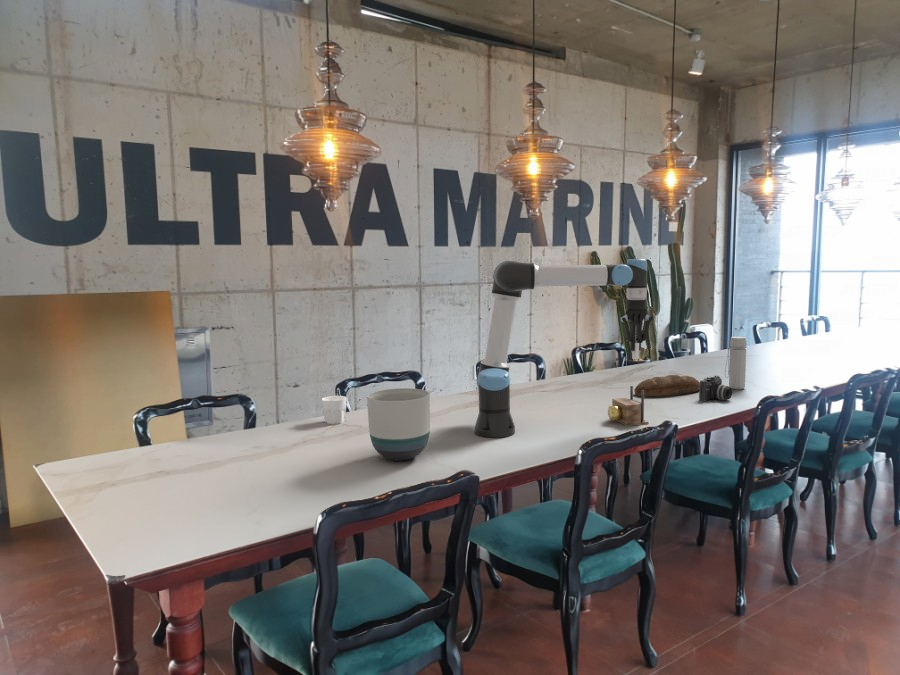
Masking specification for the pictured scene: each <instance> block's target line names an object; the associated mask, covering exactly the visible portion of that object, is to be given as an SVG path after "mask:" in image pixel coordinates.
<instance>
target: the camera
mask: <svg viewBox="0 0 900 675" xmlns="http://www.w3.org/2000/svg"><path fill="white" fill-rule="evenodd" d="M722 380H723V379H722V378H721V377H720V376H719V375H714V376H707V377H704V379H702V380H700V381H699V382H700V387H699V390H698V392H699V393H698V400H699V401H700V402H701V401H702V402H707V401H710V400H714V399H716V400H720V401H728V400H730V399H731V398H732V395H733V389H731V388H730V387H729V385H725V384H723V383H722V382H723V381H722Z"/></svg>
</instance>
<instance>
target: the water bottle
mask: <svg viewBox="0 0 900 675" xmlns="http://www.w3.org/2000/svg"><path fill="white" fill-rule="evenodd" d="M746 339H747V337H745V336H731V337H730V341H729V346H728V347H727V355H726V359H727V361H726V363H725V366H727V363H728V374H727V375H728V376H726V373H724V376H725V378H726V379H728V386H729V387H730V388H731V389H732V390H744V389H745V387H746V370H747V369H746V367H747V366H746V365H747V364H746V363H747V340H746ZM726 370H727V367H725V369H724V372H727V371H726Z"/></svg>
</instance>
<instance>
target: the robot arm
mask: <svg viewBox="0 0 900 675" xmlns="http://www.w3.org/2000/svg"><path fill="white" fill-rule="evenodd" d="M492 277H493V278H492V279H493V281H492V287H491V295H492V296H493V298H494V300H493V305H492V313H491V318H490V319H491V320H490V325H489V332H488V339H487V343H486V350H485V357H484V358H483V359H481V361H480V365H479V370H478V373H477V375H476V376H477V377H476V385H477V390H478V415H477V418H476V422H475V425H474V434H476V435H477V436H480V437H483V438H495V439H497V438H504V437H505V438H506V437H509V436H512V435H514V434H515V433H516V427H515V422H514V419H513V417H512V414H511V399H510V398H511V396H510V395H511V394H510V392H511V391H510V390H511V388H510V386H511V383H510V382H511V378H510V374H509V372H510V368H511V367H510V366H511V365H509V363H508V362H507V361H508V355H509V349H510V342H511V335H512V330H513V325H514V324H513V323H514V318H515V312H516V306H517V302H518V301H519V300H520V299H521V298H522V292H523V291H525V290H527V291H528V290H529V291H530V290H536V288H538V287H583V286H584V287H585V286H586V287H587V286H593V287H594V286H618V287H620V286H621V287H623V286H626V300H625V301H626V306H625V307H626V308H625V309H626V311H625V314H624V315H623V316H620V317H619V320H620V322H621V326H622V328H623V333H624V339H625V341H626V342H629V343H630V344H629V346H630V347H629V349H630V351H631V359H632V360H635V361H636V360H637V361H638V360H640V351H641V350H642V344H643V342H646V340H647V338H648V333H649V329H650V328H649V327H650V323H651V322H652V321H653V316H652V315H651V316H650V315H649V314H648V312H647V305H648V304H647V302H648V301H647V295H648V294H647V293H648V292H647V291H648V289H647V288H648V262H647V260H646V259H644V258H636V259H635V258H634V259H633V258H629V259H627V260H626V263H623V264H622V263H619V264H585V265H584V264H576V265H575V264H573V265H572V264H570V265H568V264H567V265H536V263H534V262H532V263H531V262H519V261H515V260H505V261H503V262H500V263H499V264H498V265H497V266H496V267H495V269H494V270H493V274H492ZM628 321H629V322H628ZM643 321H644V322H643Z"/></svg>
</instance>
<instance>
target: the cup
mask: <svg viewBox="0 0 900 675" xmlns="http://www.w3.org/2000/svg"><path fill="white" fill-rule="evenodd" d="M321 403H322V404H321V405H322V408H323V409H322V410H323V417H324V422H325V423H326V422H327V423H326V425H337V424H339V423H341V424H343V423H345V422H346V420H347V418H346V416H347V396H345V395H329V396H324V397H322V398H321Z"/></svg>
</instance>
